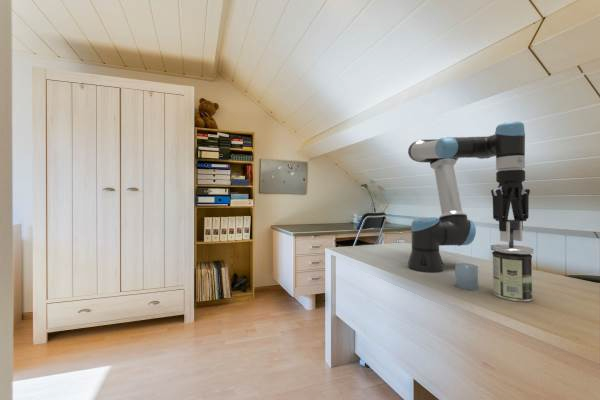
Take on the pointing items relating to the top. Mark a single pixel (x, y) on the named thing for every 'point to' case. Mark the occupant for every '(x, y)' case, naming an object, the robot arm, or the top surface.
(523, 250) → the plunger
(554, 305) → the top surface
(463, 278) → the frosted blue tumbler
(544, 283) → the top surface
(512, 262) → the coffee can
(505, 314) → the top surface
